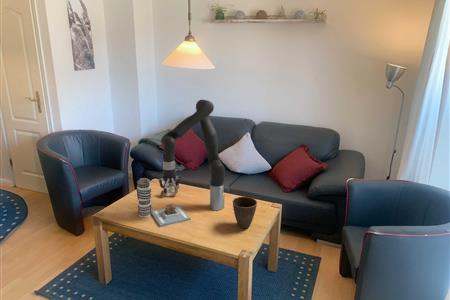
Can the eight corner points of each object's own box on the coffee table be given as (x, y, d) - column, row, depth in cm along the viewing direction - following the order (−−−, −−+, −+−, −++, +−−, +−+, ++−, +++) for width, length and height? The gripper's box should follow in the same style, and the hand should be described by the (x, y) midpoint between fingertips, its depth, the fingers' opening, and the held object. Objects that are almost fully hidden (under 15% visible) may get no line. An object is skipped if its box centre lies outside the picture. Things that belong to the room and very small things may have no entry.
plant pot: (254, 232, 199) (256, 208, 194) (230, 230, 201) (230, 206, 196) (256, 220, 213) (258, 197, 208) (233, 218, 215) (234, 195, 210)
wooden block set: (174, 189, 258) (173, 177, 255) (183, 190, 254) (182, 178, 251) (159, 198, 243) (158, 185, 240) (169, 200, 239) (168, 186, 236)
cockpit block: (172, 191, 215) (172, 183, 213) (174, 194, 210) (174, 186, 209) (164, 193, 212) (164, 185, 211) (167, 196, 208) (167, 187, 207)
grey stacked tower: (135, 214, 218) (132, 179, 211) (146, 209, 225) (144, 175, 217) (143, 219, 212) (141, 183, 205) (155, 214, 219) (153, 179, 212)
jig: (179, 207, 229) (179, 202, 228) (190, 219, 212) (190, 215, 211) (151, 213, 220) (150, 208, 219) (160, 226, 203) (160, 222, 202)
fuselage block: (172, 212, 219) (172, 204, 217) (175, 215, 215) (175, 207, 213) (165, 213, 217) (165, 205, 215) (168, 217, 212) (167, 208, 211)
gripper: (177, 164, 213) (178, 188, 218) (156, 167, 206) (157, 192, 211) (182, 167, 206) (182, 192, 211) (159, 171, 200) (160, 196, 205)
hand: (169, 192), depth 211 cm, fingers closed on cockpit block, 5 cm apart
